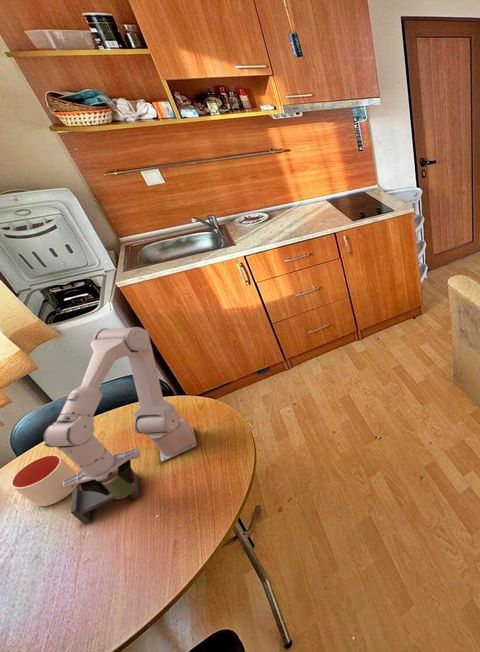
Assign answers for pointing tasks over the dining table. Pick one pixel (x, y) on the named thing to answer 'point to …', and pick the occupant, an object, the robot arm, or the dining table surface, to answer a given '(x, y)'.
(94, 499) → the grey channel-top block
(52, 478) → the cup
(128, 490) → the canister
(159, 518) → the dining table surface
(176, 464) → the dining table surface
